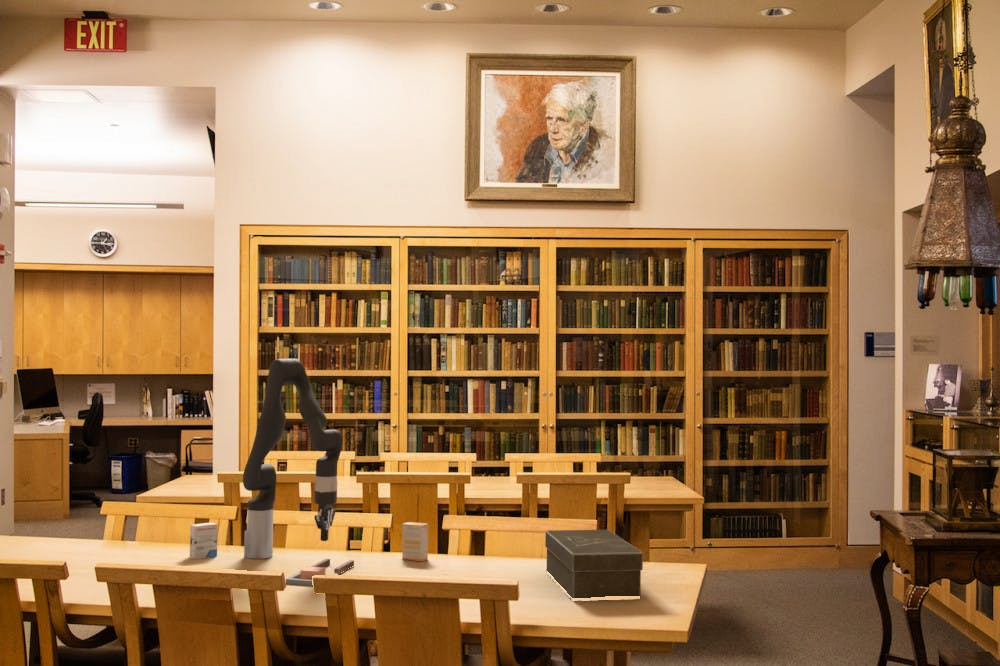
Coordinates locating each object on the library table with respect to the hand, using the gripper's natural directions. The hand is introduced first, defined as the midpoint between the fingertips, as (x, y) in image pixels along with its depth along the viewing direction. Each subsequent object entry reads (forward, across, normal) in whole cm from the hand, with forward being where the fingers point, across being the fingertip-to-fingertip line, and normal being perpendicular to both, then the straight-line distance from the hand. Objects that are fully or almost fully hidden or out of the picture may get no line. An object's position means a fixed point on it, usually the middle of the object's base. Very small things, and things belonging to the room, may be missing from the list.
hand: (324, 540), depth 342 cm
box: (+10, -8, +89) cm, 90 cm away
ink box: (+12, -13, -52) cm, 55 cm away
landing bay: (+11, +10, 0) cm, 15 cm away
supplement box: (+11, -31, +22) cm, 40 cm away
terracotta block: (+11, +10, +1) cm, 15 cm away
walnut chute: (+11, -7, 0) cm, 13 cm away
